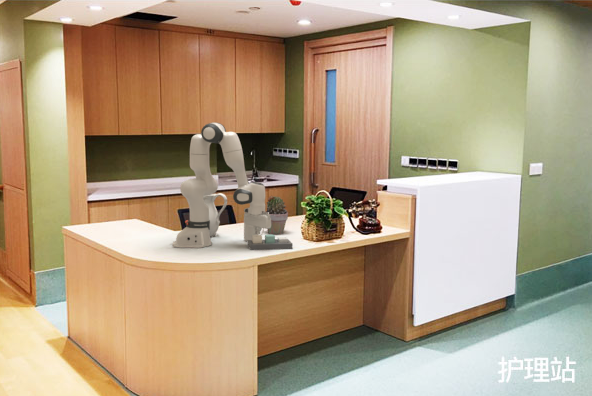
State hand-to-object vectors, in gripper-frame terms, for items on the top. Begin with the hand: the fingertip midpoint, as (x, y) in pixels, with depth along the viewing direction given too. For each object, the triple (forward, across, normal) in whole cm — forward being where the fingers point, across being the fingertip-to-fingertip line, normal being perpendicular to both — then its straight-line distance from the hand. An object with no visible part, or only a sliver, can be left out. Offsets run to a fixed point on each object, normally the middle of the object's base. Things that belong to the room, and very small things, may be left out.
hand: (257, 234), depth 341 cm
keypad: (+8, -4, -6) cm, 11 cm away
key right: (+7, -8, -13) cm, 16 cm away
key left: (+5, 0, 0) cm, 5 cm away
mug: (+8, +15, -10) cm, 20 cm away
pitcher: (+8, +42, +2) cm, 43 cm away
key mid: (+5, -4, -6) cm, 9 cm away
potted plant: (+8, +25, -37) cm, 45 cm away
